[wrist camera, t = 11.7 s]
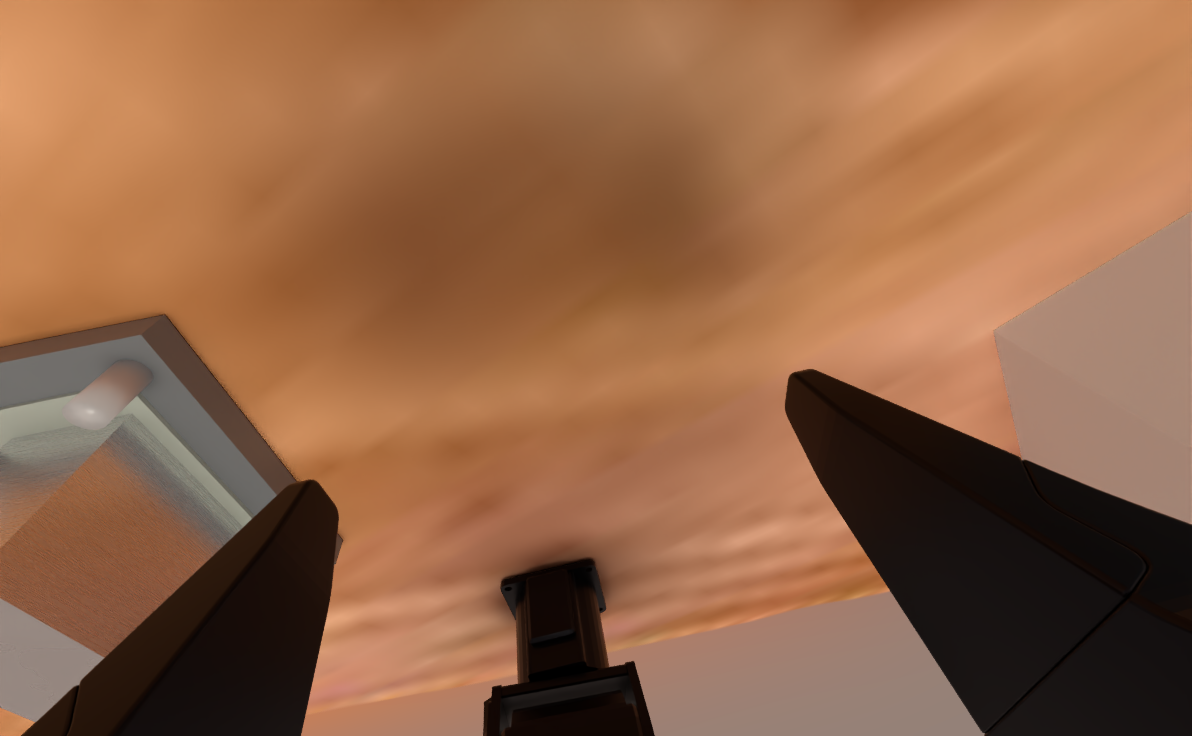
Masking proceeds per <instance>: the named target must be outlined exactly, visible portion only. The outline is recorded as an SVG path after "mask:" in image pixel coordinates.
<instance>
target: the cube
mask: <svg viewBox="0 0 1192 736" xmlns="http://www.w3.org/2000/svg"><path fill="white" fill-rule="evenodd" d="M993 332H994V337H995V341H996V346H997V350H998V355H999V359H1000V363H1001V368H1002V372H1003V377H1004V381H1005V385H1006V390H1007V394H1008V399H1009V403H1010V407H1011V412H1012V416H1013V421H1014V425H1015V429H1016V434H1017V438H1018V443H1019V447H1020V452H1021V456H1022V460H1028V461H1031V462H1033V463H1035V464H1038V465H1040V466H1042V467H1045V468H1047V469H1050V470H1052V471H1054V472H1057V473H1059V474H1062V475H1064V476H1066V477H1069V478H1071V479H1074V480H1076V481H1079V482H1081V483H1084V484H1086V485H1088V486H1091V487H1093V488H1096V489H1098V490H1101V491H1104V492H1106V493H1109V494H1111V495H1114V496H1117V497H1119V498H1122V499H1125V500H1127V501H1130V502H1133V503H1135V504H1138V505H1141V506H1143V507H1146V508H1148V509H1151V510H1154V511H1157V512H1159V513H1162V514H1165V515H1168V516H1170V517H1173V518H1176V519H1179V520H1181V521H1184V522H1187V523H1189V524H1192V211H1191V212H1189V213H1188V214H1186V215H1184V216H1183V217H1181V218H1179V219H1178V220H1176V221H1174V222H1173V223H1171V224H1169V225H1168V226H1166V227H1164V228H1163V229H1161V230H1159V231H1158V232H1156V233H1154V234H1153V235H1151V236H1149V237H1148V238H1146V239H1144V240H1143V241H1141V242H1139V243H1138V244H1136V245H1134V246H1133V247H1131V248H1130V249H1128V250H1126V251H1125V252H1123V253H1121V254H1120V255H1118V256H1116V257H1115V258H1113V259H1111V260H1110V261H1108V262H1106V263H1105V264H1103V265H1101V266H1100V267H1098V268H1096V269H1095V270H1093V271H1091V272H1090V273H1088V274H1086V275H1085V276H1083V277H1081V278H1080V279H1078V280H1076V281H1075V282H1073V283H1071V284H1070V285H1068V286H1066V287H1065V288H1063V289H1061V290H1060V291H1058V292H1056V293H1055V294H1053V295H1051V296H1050V297H1048V298H1046V299H1045V300H1043V301H1041V302H1040V303H1038V304H1036V305H1035V306H1033V307H1031V308H1030V309H1028V310H1026V311H1025V312H1023V313H1021V314H1020V315H1018V316H1016V317H1015V318H1013V319H1011V320H1010V321H1008V322H1006V323H1005V324H1003V325H1001V326H1000V327H998V328H996V329H995V330H993Z"/></svg>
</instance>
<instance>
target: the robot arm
mask: <svg viewBox="0 0 1192 736" xmlns="http://www.w3.org/2000/svg"><path fill="white" fill-rule="evenodd" d="M785 411H786V415H787V417H788V419H789V421H790V423H791V425H792V427H793V429H794V431H795V433H796V435H797V437H798V439H799V441H800V443H801V445H802V447H803V449H804V451H805V453H806V455H807V457H808V459H809V461H810V463H811V465H812V467H813V469H814V471H815V473H816V475H817V477H818V479H819V481H820V483H821V484H822V486H823V488H824V489H825V491H826V493H827V494H828V496H829V497H830V499H831V500H832V502H833V503H834V505H835V507H836V508H837V510H838V511H839V513H840V514H841V516H842V517H843V519H844V520H845V522H846V523H847V525H848V527H849V528H850V530H851V531H852V533H853V534H854V536H855V537H856V539H857V540H858V542H859V544H860V545H861V547H862V548H863V550H864V551H865V553H866V554H867V556H868V557H869V559H870V560H871V562H872V564H873V565H874V567H875V568H876V570H877V571H878V573H879V574H880V576H881V577H882V579H883V580H884V582H885V584H886V585H887V587H888V588H889V590H890V591H891V593H892V594H893V596H894V597H895V599H896V600H897V602H898V604H899V605H900V607H901V608H902V610H903V611H904V613H905V614H906V616H907V617H908V619H909V621H910V622H911V624H912V625H913V627H914V628H915V630H916V631H917V633H918V634H919V636H920V637H921V639H922V640H923V642H924V644H925V645H926V647H927V648H928V650H929V651H930V653H931V654H932V656H933V658H934V659H935V661H936V662H937V664H938V665H939V667H940V668H941V670H942V671H943V673H944V675H945V676H946V678H947V679H948V681H949V682H950V684H951V685H952V687H953V688H954V690H955V691H956V693H957V695H958V696H959V698H960V699H961V701H962V702H963V704H964V705H965V707H966V708H967V710H968V712H969V713H970V715H971V716H972V718H973V719H974V721H975V722H976V724H977V725H978V727H979V728H980V730H981V731H982V732H983V733H985V735H984V736H1192V524H1189V523H1187V522H1184V521H1181V520H1179V519H1176V518H1173V517H1170V516H1168V515H1165V514H1162V513H1159V512H1157V511H1154V510H1151V509H1148V508H1146V507H1143V506H1141V505H1138V504H1135V503H1133V502H1130V501H1127V500H1125V499H1122V498H1119V497H1117V496H1114V495H1111V494H1109V493H1106V492H1104V491H1101V490H1098V489H1096V488H1093V487H1091V486H1088V485H1086V484H1084V483H1081V482H1079V481H1076V480H1074V479H1071V478H1069V477H1066V476H1064V475H1062V474H1059V473H1057V472H1054V471H1052V470H1050V469H1047V468H1045V467H1042V466H1040V465H1038V464H1035V463H1033V462H1031V461H1028V460H1021V458H1020V457H1019V456H1016V455H1014V454H1012V453H1009V452H1007V451H1005V450H1002V449H1000V448H998V447H995V446H993V445H991V444H988V443H986V442H983V441H981V440H979V439H976V438H974V437H972V436H969V435H967V434H965V433H962V432H960V431H958V430H955V429H953V428H951V427H948V426H946V425H944V424H941V423H939V422H936V421H934V420H932V419H929V418H927V417H925V416H922V415H920V414H918V413H915V412H913V411H911V410H908V409H906V408H904V407H901V406H899V405H897V404H894V403H892V402H889V401H887V400H885V399H882V398H880V397H878V396H875V395H873V394H871V393H868V392H866V391H864V390H861V389H859V388H857V387H854V386H852V385H850V384H847V383H845V382H843V381H840V380H838V379H835V378H833V377H831V376H828V375H826V374H824V373H821V372H819V371H817V370H814V369H807V370H802V371H798V372H794V373H792V374H791V375H790V376H789V379H788V385H787V393H786V400H785ZM338 521H339V515H338V510H337V508H336V506H335V504H334V503H333V501H332V500H331V499H330V497H329V496H328V495H327V493H326V492H325V491H324V489H323V488H322V487H321V485H320V484H319V483H318V482H317V481H315V480H305V481H300V482H296V483H292V484H289V485H288V486H286V487H285V488H284V489H283V490H282V491H281V492H280V493H279V494H278V495H277V496H276V497H275V498H274V499H272V500H271V501H270V502H269V503H268V504H267V505H266V506H265V507H264V508H263V509H262V510H261V511H260V512H259V513H258V514H257V515H256V516H254V517H253V518H252V519H251V520H250V521H249V522H248V523H247V524H246V525H245V526H244V527H243V528H242V529H241V530H240V531H239V532H237V533H236V534H235V535H234V536H233V537H232V538H231V539H230V540H229V541H228V542H227V543H226V544H225V545H224V546H223V547H222V548H220V549H219V550H218V551H217V552H216V553H215V554H214V555H213V556H212V557H211V558H210V559H209V560H208V561H207V562H206V563H205V564H203V565H202V566H201V567H200V568H199V569H198V570H197V571H196V572H195V573H194V574H193V575H192V576H191V577H190V578H189V579H188V580H186V581H185V582H184V583H183V584H182V585H181V586H180V587H179V588H178V589H177V590H176V591H175V592H174V593H173V594H172V595H171V596H169V597H168V598H167V599H166V600H165V601H164V602H163V603H162V604H161V605H160V606H159V607H158V608H157V609H156V610H155V611H154V612H152V613H151V614H150V615H149V616H148V617H147V618H146V619H145V620H144V621H143V622H142V623H141V624H140V625H139V626H138V627H137V628H135V629H134V630H133V631H132V632H131V633H130V634H129V635H128V636H127V637H126V638H125V639H124V640H123V641H122V642H121V643H120V644H118V645H117V646H116V647H115V648H114V649H113V650H112V651H111V652H110V653H109V654H108V655H107V656H106V657H105V658H104V659H103V660H101V661H100V662H99V663H98V664H97V665H96V666H95V667H94V668H93V669H92V670H91V671H90V672H89V673H88V674H87V675H86V676H84V677H83V678H82V679H81V681H80V684H79V685H76V686H74V687H73V688H72V689H70V690H69V691H68V692H67V693H66V694H65V695H64V696H63V697H62V698H61V699H60V700H59V701H58V702H57V703H56V704H55V705H54V706H53V707H52V708H50V709H49V710H48V711H47V712H46V713H45V714H44V715H43V716H42V717H41V718H40V719H39V720H38V721H36V722H35V723H34V724H33V725H32V726H31V727H30V728H29V729H28V730H27V731H26V732H25V733H23V734H22V735H21V736H301V733H302V728H303V723H304V719H305V714H306V710H307V705H308V700H309V696H310V691H311V687H312V682H313V677H314V673H315V668H316V663H317V659H318V654H319V650H320V645H321V640H322V636H323V631H324V626H325V622H326V617H327V612H328V607H329V602H330V596H331V589H332V580H333V570H334V561H335V551H336V541H337V531H338ZM501 592H502V594H503V596H504V598H505V600H506V602H507V604H508V606H509V608H510V610H511V612H512V614H513V616H514V618H515V620H516V636H517V670H518V684H514V685H508V686H503V687H502V686H501V685H499V686H494V687H492V696H491V698H489V699H488V700H486V701H485V702H484V729H483V736H655V735H654V731H653V727H652V724H651V720H650V716H649V713H648V710H647V706H646V702H645V699H644V695H643V692H642V688H641V684H640V681H639V677H638V674H637V670H636V667H635V663H634V661H631V662H626V663H625V664H624V665H619V666H613V667H609V663H608V658H607V651H606V646H605V640H604V634H603V629H602V623H601V617H600V613H602V612H604V611H605V610H606V605H605V600H604V596H603V592H602V588H601V585H600V581H599V577H598V573H597V569H596V565H595V562H594V561H592V560H586V561H582V562H578V563H573V564H569V565H565V566H561V567H557V568H552V569H548V570H544V571H540V572H536V573H531V574H527V575H523V576H519V577H515V578H510V579H506V580H504V581H502V582H501Z"/></svg>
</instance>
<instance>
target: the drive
mask: <svg viewBox="0 0 1192 736" xmlns="http://www.w3.org/2000/svg"><path fill="white" fill-rule="evenodd" d="M242 528H243V526H242V525H241V524H240V523H239V522H238V521H237V520H236V519H235V518H234V517H233V516H232V515H231V514H230V513H229V512H228V511H227V510H226V509H225V508H224V507H223V506H222V505H221V504H220V503H219V502H218V501H217V500H216V498H215V497H214V496H213V495H212V494H211V493H210V492H209V491H208V490H207V489H206V488H205V487H204V486H203V485H202V484H201V483H200V482H199V481H198V480H197V479H196V478H195V477H194V476H193V475H192V474H191V473H190V472H189V471H188V470H187V469H186V468H185V467H184V466H183V465H182V464H181V463H180V462H179V461H178V460H177V459H176V458H175V456H174V455H173V454H172V453H171V452H170V451H169V450H168V449H167V448H166V447H165V446H164V445H163V444H162V443H161V442H160V441H159V440H158V439H157V438H156V437H155V436H154V435H153V434H152V433H151V432H150V431H149V430H148V429H147V428H146V427H145V426H144V425H143V424H142V423H141V422H140V421H139V420H138V419H137V418H136V417H135V416H134V414H133V413H131V414H126V415H121V416H116V417H115V418H114V419H113V420H112V421H111V422H110V423H109V424H108V425H107V426H106V427H104V428H102V429H98V430H89V429H84V428H80V427H77V426H75V425H73V426H68V427H64V428H59V429H54V430H49V431H44V432H40V433H35V434H30V435H25V436H21V437H16V438H12V439H10V440H9V441H8V442H7V443H6V444H4V445H3V446H2V447H1V448H0V708H3V709H5V710H8V711H10V712H12V713H15V714H17V715H20V716H22V717H24V718H27V719H29V720H32V721H34V722H36V721H38V720H39V719H40V718H41V717H42V716H43V715H44V714H45V713H46V712H47V711H48V710H49V709H50V708H52V707H53V706H54V705H55V704H56V703H57V702H58V701H59V700H60V699H61V698H62V697H63V696H64V695H65V694H66V693H67V692H68V691H69V690H70V689H72V688H73V687H74V686H76V685H79V684H80V681H81V679H82V678H83V677H84V676H86V675H87V674H88V673H89V672H90V671H91V670H92V669H93V668H94V667H95V666H96V665H97V664H98V663H99V662H100V661H101V660H103V659H104V658H105V657H106V656H107V655H108V654H109V653H110V652H111V651H112V650H113V649H114V648H115V647H116V646H117V645H118V644H120V643H121V642H122V641H123V640H124V639H125V638H126V637H127V636H128V635H129V634H130V633H131V632H132V631H133V630H134V629H135V628H137V627H138V626H139V625H140V624H141V623H142V622H143V621H144V620H145V619H146V618H147V617H148V616H149V615H150V614H151V613H152V612H154V611H155V610H156V609H157V608H158V607H159V606H160V605H161V604H162V603H163V602H164V601H165V600H166V599H167V598H168V597H169V596H171V595H172V594H173V593H174V592H175V591H176V590H177V589H178V588H179V587H180V586H181V585H182V584H183V583H184V582H185V581H186V580H188V579H189V578H190V577H191V576H192V575H193V574H194V573H195V572H196V571H197V570H198V569H199V568H200V567H201V566H202V565H203V564H205V563H206V562H207V561H208V560H209V559H210V558H211V557H212V556H213V555H214V554H215V553H216V552H217V551H218V550H219V549H220V548H222V547H223V546H224V545H225V544H226V543H227V542H228V541H229V540H230V539H231V538H232V537H233V536H234V535H235V534H236V533H237V532H239V531H240V530H241V529H242Z"/></svg>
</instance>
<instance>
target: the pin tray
mask: <svg viewBox="0 0 1192 736" xmlns="http://www.w3.org/2000/svg"><path fill="white" fill-rule="evenodd" d="M131 413H133V414H134V416H135V417H136V418H137V419H138V420H139V421H140V422H141V423H142V424H143V425H144V426H145V427H146V428H147V429H148V430H149V431H150V432H151V433H152V434H153V435H154V436H155V437H156V438H157V439H158V440H159V441H160V442H161V443H162V444H163V445H164V446H165V447H166V448H167V449H168V450H169V451H170V452H171V453H172V454H173V455H174V456H175V458H176V459H177V460H178V461H179V462H180V463H181V464H182V465H183V466H184V467H185V468H186V469H187V470H188V471H189V472H190V473H191V474H192V475H193V476H194V477H195V478H196V479H197V480H198V481H199V482H200V483H201V484H202V485H203V486H204V487H205V488H206V489H207V490H208V491H209V492H210V493H211V494H212V495H213V496H214V497H215V498H216V500H217V501H218V502H219V503H220V504H221V505H222V506H223V507H224V508H225V509H226V510H227V511H228V512H229V513H230V514H231V515H232V516H233V517H234V518H235V519H236V520H237V521H238V522H239V523H240V524H241V525H242V526H243V527H244V526H245V525H246V524H247V523H248V522H249V521H250V520H251V519H252V518H253V517H254V516H256V515H257V514H258V513H259V512H260V511H261V510H262V509H263V508H264V507H265V506H266V505H267V504H268V503H269V502H270V501H271V500H272V499H274V498H275V497H276V496H277V495H278V494H279V493H280V492H281V491H282V490H283V489H284V488H285V487H286V486H288V485H289V484H292V483H296V480H295V479H294V478H293V477H292V475H291V474H290V473H289V472H288V470H287V469H286V468H285V467H284V465H283V464H282V463H281V461H280V460H279V459H278V458H277V456H276V455H275V454H274V453H273V451H272V450H271V449H270V448H269V446H268V445H267V444H266V442H265V441H264V440H263V439H262V437H261V436H260V435H259V434H258V432H257V431H256V430H255V429H254V427H253V426H252V425H251V423H250V422H249V421H248V420H247V418H246V417H245V416H244V415H243V413H242V412H241V411H240V410H239V408H238V407H237V406H236V404H235V403H234V402H233V401H232V399H231V398H230V397H229V396H228V394H227V393H226V392H225V391H224V389H223V388H222V387H221V385H220V384H219V383H218V382H217V380H216V379H215V378H214V377H213V375H212V374H211V373H210V372H209V370H208V369H207V368H206V366H205V365H204V364H203V363H202V361H201V360H200V359H199V358H198V356H197V355H196V354H195V353H194V351H193V350H192V349H191V347H190V346H189V345H188V344H187V342H186V341H185V340H184V339H183V337H182V336H181V335H180V334H179V332H178V331H177V330H176V328H175V327H174V326H173V325H172V323H171V322H170V321H169V320H168V318H167V317H166V316H165V315H161V316H156V317H151V318H146V319H141V320H136V321H131V322H126V323H121V324H116V325H111V326H106V327H101V328H96V329H91V330H86V331H81V332H76V333H71V334H66V335H61V336H56V337H51V338H46V339H41V340H35V341H30V342H25V343H20V344H15V345H10V346H5V347H0V448H1V447H2V446H3V445H4V444H6V443H7V442H8V441H9V440H10V439H12V438H16V437H21V436H25V435H30V434H35V433H40V432H44V431H49V430H54V429H59V428H64V427H68V426H73V425H75V426H77V427H80V428H84V429H89V430H98V429H102V428H104V427H106V426H107V425H108V424H109V423H110V422H111V421H112V420H113V419H114V418H115V417H116V416H121V415H126V414H131ZM342 542H343V540H342V539H341V537H340V536H339V535H338V534H337V541H336V551H335V561H334V564H336V561H337V558H338V555H339V551H340V548H341V545H342Z"/></svg>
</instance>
